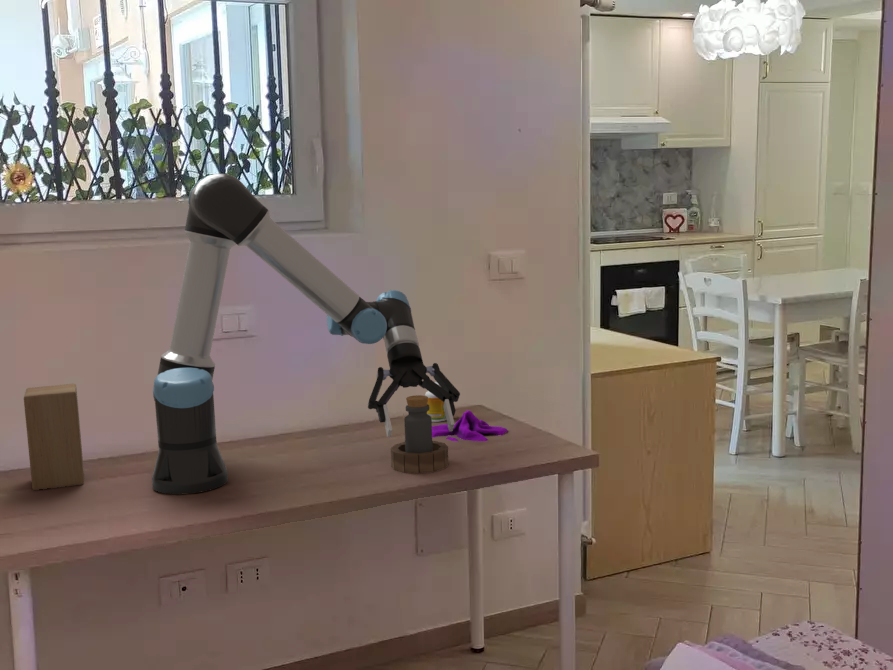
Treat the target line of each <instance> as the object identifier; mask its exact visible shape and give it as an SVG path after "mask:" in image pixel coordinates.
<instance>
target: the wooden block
mask: <svg viewBox="0 0 893 670" xmlns="http://www.w3.org/2000/svg"><path fill="white" fill-rule="evenodd" d="M78 401H79V400H78V391H77V384H76V383H69V384H68V383H67V384H57V385H55V384H54V385H46V386H45V385H44V386H33V387H27V388H26V389H25V391H24V395H23V406H24V407H23V408H24V416H25V425H26V426H25V427H26V436H27V446H28V448H27V449H28V457H29V467H30V478H31V488H32V490H33V491H40V490H39V489H43V490H48V489H47V488H51V489H57V487H59V488H65V486H67V487H74V486H81V485H84V484H85V469H84V459H83V458H84V457H83V448H82V447H83V445H82V437H81V436H82V435H81V434H82V433H81V426H80V425H81V423H80V414H79V402H78Z"/></svg>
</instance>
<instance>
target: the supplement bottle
mask: <svg viewBox="0 0 893 670" xmlns="http://www.w3.org/2000/svg"><path fill="white" fill-rule="evenodd" d="M434 382H435V383H436V384H437V385H439V384H438V383H437V382H436V381H434ZM439 386H440V385H439ZM440 387H441V386H440ZM424 396H427V397H428V402H427V404H428V405H429V410H428V411H427V414H428V415H429V416H431V420H432V423H440V422H445V421H447V420H446V416H445V412H444V408H443V405H444V402H443V401H441V400H440V399H439V398H437V397H436V396H435V395H433V394H432V393H431V392H429V391H428V390H427V391H425V394H424Z"/></svg>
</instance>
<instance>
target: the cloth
mask: <svg viewBox="0 0 893 670" xmlns="http://www.w3.org/2000/svg"><path fill="white" fill-rule="evenodd" d="M454 424H455V425H454V428H453V431H449V428H448V424H447V423H446V424H437V425H433V426H432V438H437V437H446V439H445V440H448V441H452V442H459V439H460V438H461V439H460V440H462V439H463V440H464V441H472V442H487V441H489V439H488V438H487V437H486V435H487V436H498V435H501V436H503V435H505V434H507V432H508V431H509V430H508V429H507V428H505V427H503V426H492V425H490V424H489V423H487V422H486V421H484V420H482V419H478V417H477V416H476V415H474V413H473V412H472V411H471V410H468V409H467V410H466V411H464V412H463V413H462V415H461V417H459V419H458V420H457V421H456V422H455V423H454ZM489 425H490V426H489ZM504 433H505V434H504ZM448 435H451V436H448ZM452 436H457V437H458V438H456V437H452Z"/></svg>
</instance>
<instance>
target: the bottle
mask: <svg viewBox="0 0 893 670" xmlns="http://www.w3.org/2000/svg"><path fill="white" fill-rule="evenodd" d="M405 399H406V406H405V411H406V412H408V415H406V416H405V417H404V442H405V450H406V452H407V453H425V452H432V451H433V446H432V441H433V437H432V425H433V422H432V420H431V416H429V415H428V414H427V411H428V410H429V405H428V404H427V402H428V397H427V396H425V395H421V394H420V395H419V394H417V395H416V394H415V395H410V396H407V397H406V398H405Z"/></svg>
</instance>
